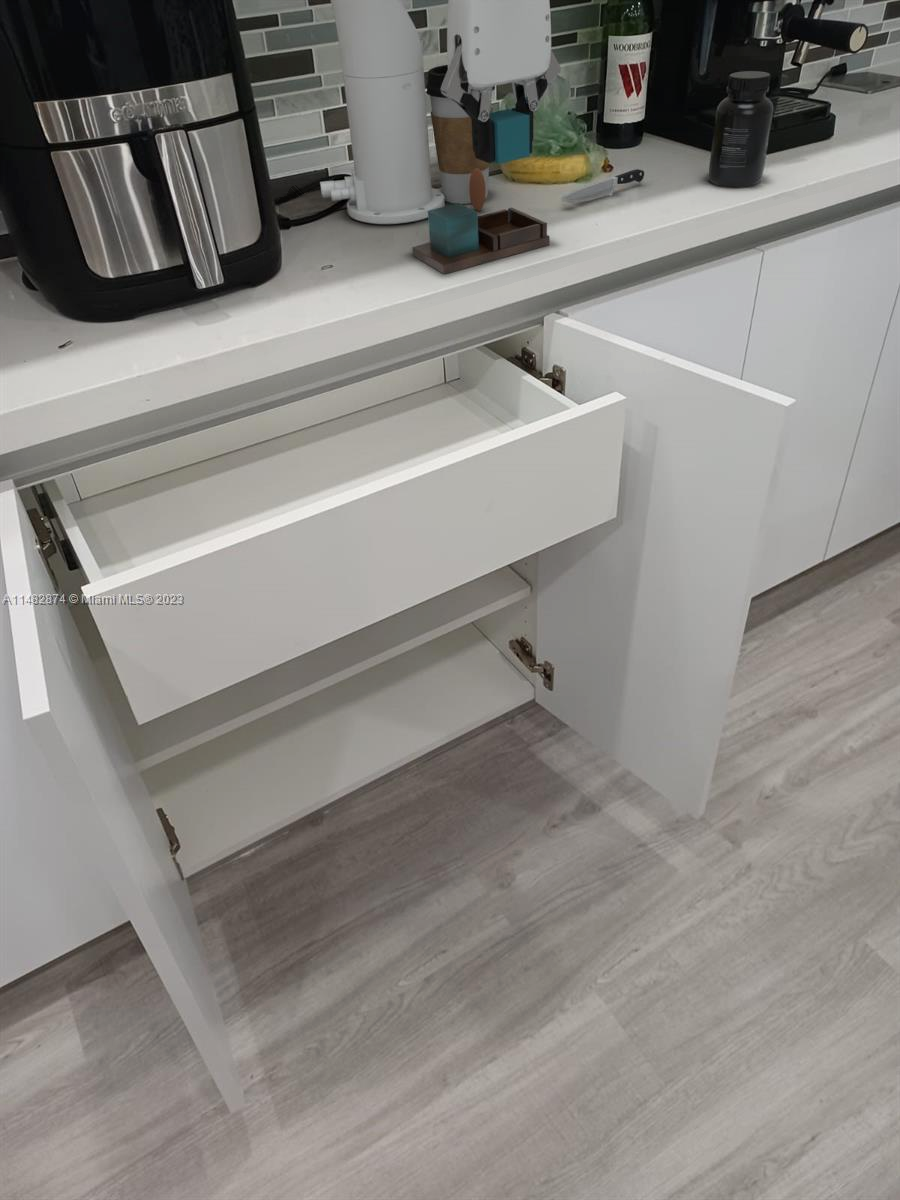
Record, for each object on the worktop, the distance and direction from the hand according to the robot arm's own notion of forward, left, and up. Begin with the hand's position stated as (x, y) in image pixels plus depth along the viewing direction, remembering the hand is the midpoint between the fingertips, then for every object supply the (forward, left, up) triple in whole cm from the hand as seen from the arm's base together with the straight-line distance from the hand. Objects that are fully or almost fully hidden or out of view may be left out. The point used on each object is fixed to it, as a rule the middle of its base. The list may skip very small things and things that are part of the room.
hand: (503, 153), depth 94 cm
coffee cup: (-2, +19, -10) cm, 21 cm away
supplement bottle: (+33, +14, -10) cm, 37 cm away
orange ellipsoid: (-1, +13, -10) cm, 16 cm away
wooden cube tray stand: (-3, -1, -10) cm, 10 cm away
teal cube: (0, 0, 0) cm, 0 cm away
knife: (+15, +13, -10) cm, 22 cm away
